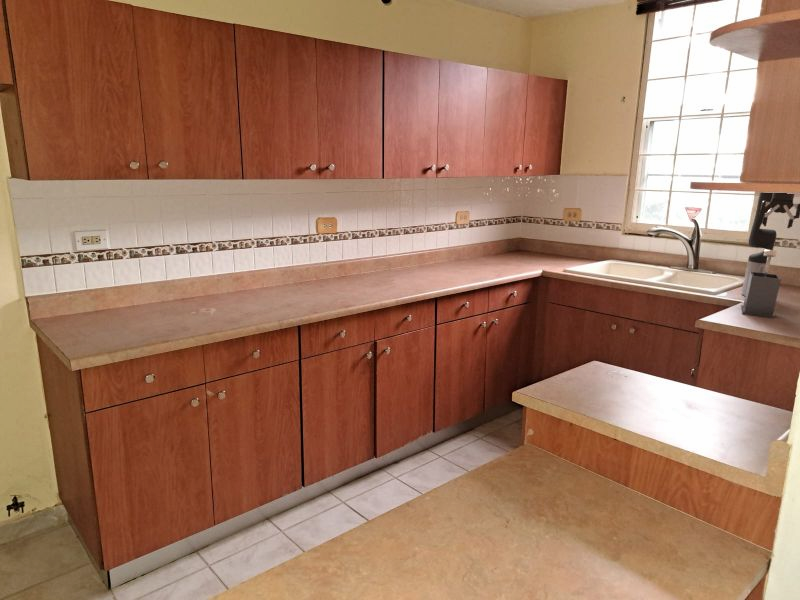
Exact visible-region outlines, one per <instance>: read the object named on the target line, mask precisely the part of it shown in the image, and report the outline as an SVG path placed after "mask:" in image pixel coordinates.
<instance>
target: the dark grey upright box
mask: <svg viewBox="0 0 800 600" xmlns="http://www.w3.org/2000/svg"><path fill="white" fill-rule="evenodd" d="M763 276H764V273H758V272H750V276H749V281H748V286H747V291H746V296H745V297H744V302H743V304H742V305H741V307H740V310H741V314H742V315H745V316H746V315H747V316H752V317H753V316H754V317H758V318H759V317H760V318H765V317H767V318H766V319H772V318H774V319H775V317H776V315H775V307H776V304H777V303H776V302H777V299H778V294H779V290H780V285H781V282H782V281H781V280H782V279H781V277H780V276H779V274H775V273H768V274H767V277H763Z"/></svg>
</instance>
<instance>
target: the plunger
mask: <svg viewBox="0 0 800 600" xmlns="http://www.w3.org/2000/svg"><path fill="white" fill-rule="evenodd" d="M764 250H765V249H764ZM764 250H763V251H764ZM776 254H777V250H774V249H773V250H765V251H764V256H768V257H767V262H766V267H765V271H764V276H763V277H767V273H768V274H769V270H768V268H770V265H771V261H770V259H771V260H772V258H776ZM769 264H770V265H769Z"/></svg>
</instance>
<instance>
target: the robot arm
mask: <svg viewBox="0 0 800 600" xmlns="http://www.w3.org/2000/svg"><path fill="white" fill-rule="evenodd" d="M794 197H795V194H787V193H760V192H759V194H758V198H757V199H758V200H757V206H756V211H755V215H754V220H753V223H752V226H751V230H750V234H749V238H748V246H749V247H751V248H758V249H764V250H763V251H761V252H758V253H757V252H756V253H752V254H749V256H748V260H747V263H746V269H745V275H744V279H743V285H742V288H741V295H742V296H746V291H747V286H748V281H749V276H750V272H758V270H759V268H760V266H764V271H765V267H766V262H767V257H768V256H764V251H765V250H774V248H775V244H776V240H777V231H776V230H775V229H768V228H761V226H762V225H763V227H767V224H768V223H767V222H768V219H769V218H768V217H769V216H770V215H772V214H773V213H778V214H779V213H781V214H787V215H788V217H789V219H788V222H787V229H791V228H792V227H793V224H794V220H796V219H799V218H800V203H799V202H798V203H794ZM793 207H794V209H796V210H795V215H793V213H792V211H790V210H791V209H792V208H793ZM771 260H772V258H771V259H770V262H771ZM770 265H771V263H770V264H769V266H770ZM769 268H770V267H769ZM769 268H768V271H769V270H770V269H769ZM767 274H769V272H768V273H767Z"/></svg>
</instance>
